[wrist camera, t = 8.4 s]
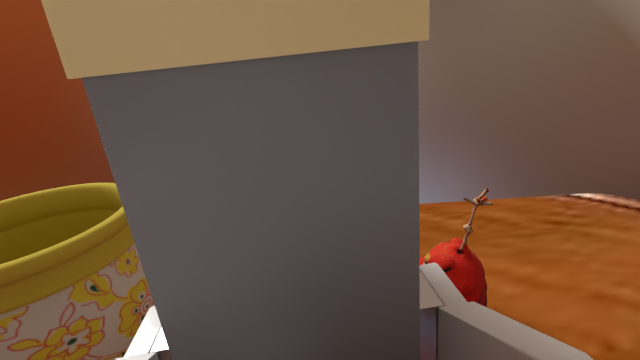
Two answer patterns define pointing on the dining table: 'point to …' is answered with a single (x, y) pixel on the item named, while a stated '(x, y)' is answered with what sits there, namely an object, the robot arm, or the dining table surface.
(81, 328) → the flowerpot
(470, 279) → the red clay folk toy
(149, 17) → the plug
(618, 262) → the dining table surface
